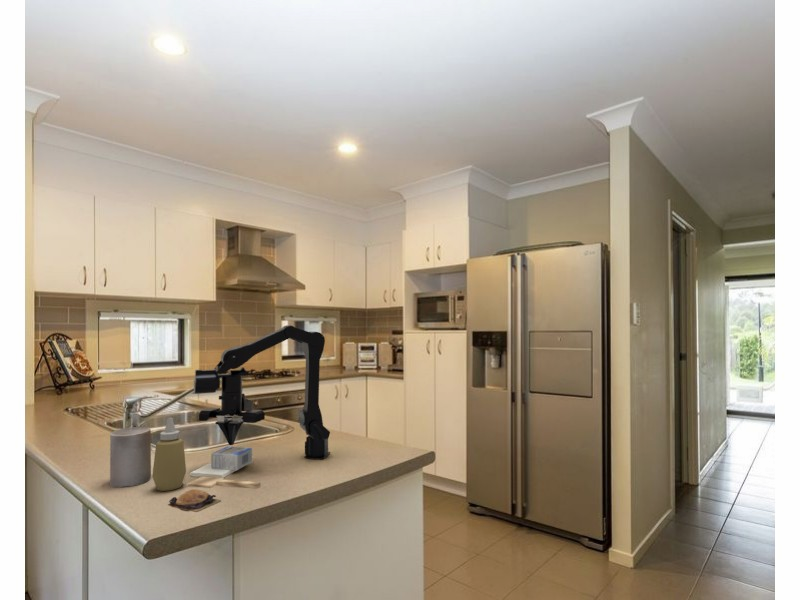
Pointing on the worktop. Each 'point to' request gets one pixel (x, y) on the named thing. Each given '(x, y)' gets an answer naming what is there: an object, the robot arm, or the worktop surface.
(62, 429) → the worktop surface
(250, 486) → the wooden turner
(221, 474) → the mat
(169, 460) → the squeeze bottle
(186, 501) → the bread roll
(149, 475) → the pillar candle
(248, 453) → the medicine box
